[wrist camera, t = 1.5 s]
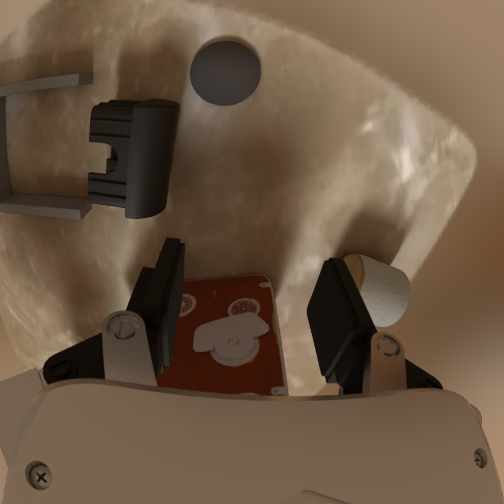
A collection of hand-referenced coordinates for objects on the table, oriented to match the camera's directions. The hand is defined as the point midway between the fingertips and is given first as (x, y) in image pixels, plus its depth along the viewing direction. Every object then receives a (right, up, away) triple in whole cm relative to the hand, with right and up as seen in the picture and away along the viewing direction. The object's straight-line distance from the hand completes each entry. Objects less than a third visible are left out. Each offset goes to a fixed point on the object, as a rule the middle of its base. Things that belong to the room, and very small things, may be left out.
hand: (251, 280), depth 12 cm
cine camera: (-7, -5, +26) cm, 28 cm away
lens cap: (-2, +18, +12) cm, 22 cm away
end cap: (-11, +12, +15) cm, 22 cm away
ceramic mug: (+14, -2, +26) cm, 29 cm away
